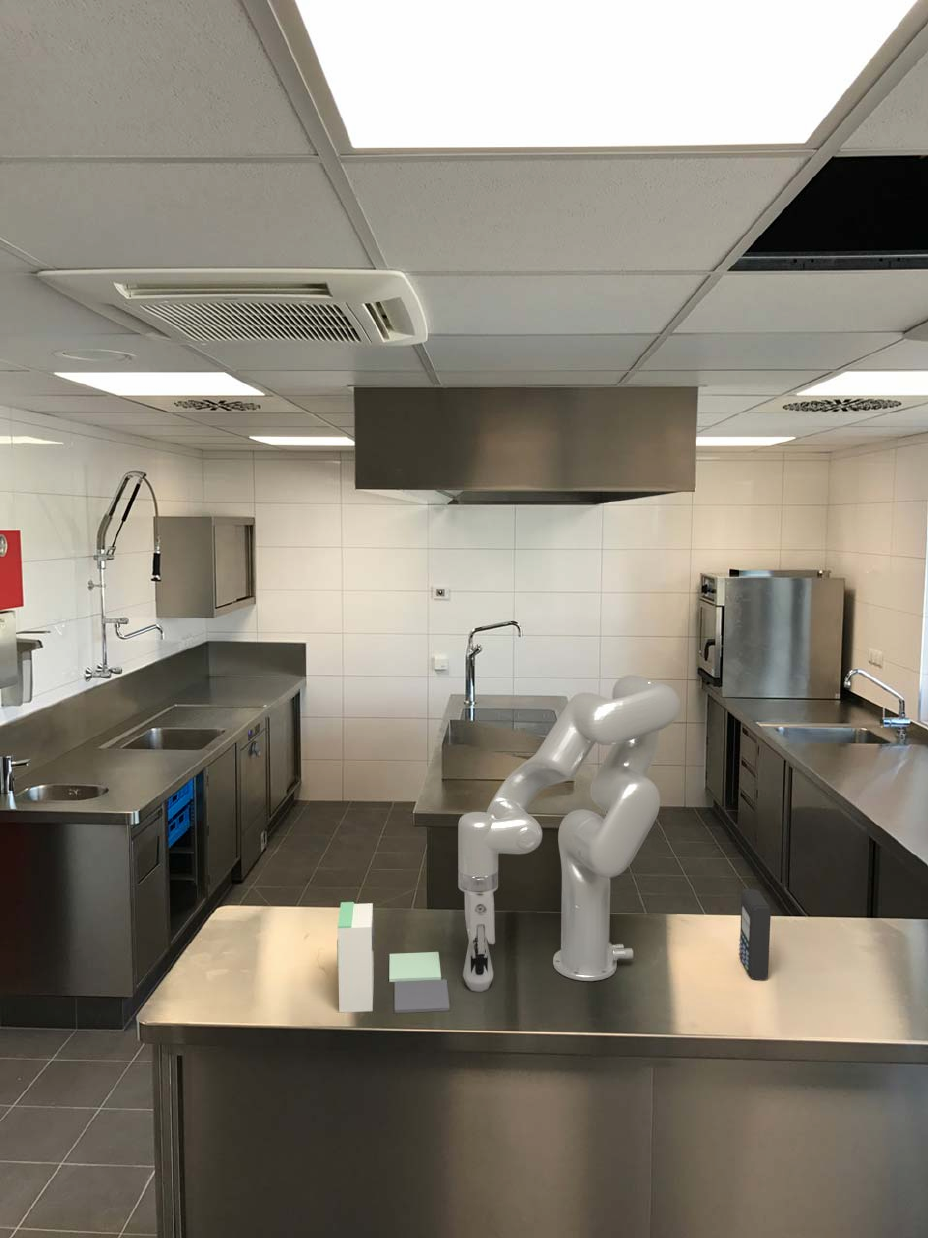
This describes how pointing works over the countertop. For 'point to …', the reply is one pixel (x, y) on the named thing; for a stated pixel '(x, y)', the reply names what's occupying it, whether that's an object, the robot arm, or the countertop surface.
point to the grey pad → (421, 996)
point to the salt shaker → (474, 980)
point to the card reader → (755, 934)
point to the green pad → (414, 966)
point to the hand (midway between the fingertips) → (478, 970)
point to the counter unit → (355, 957)
